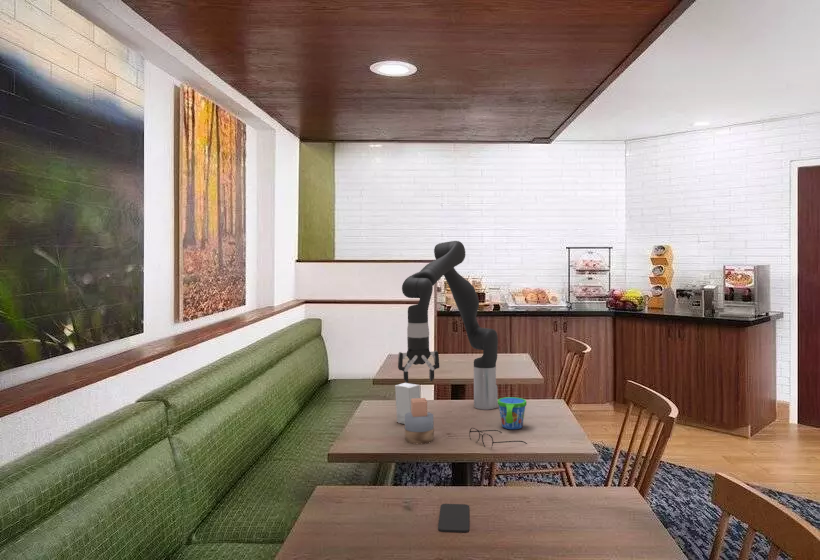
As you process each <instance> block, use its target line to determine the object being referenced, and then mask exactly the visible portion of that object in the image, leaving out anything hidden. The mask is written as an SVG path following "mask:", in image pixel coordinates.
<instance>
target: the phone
mask: <svg viewBox="0 0 820 560" xmlns="http://www.w3.org/2000/svg"><path fill="white" fill-rule="evenodd" d="M439 509H440V510H439V516H438V522H437V523H438V524H437V530H438V531H439V532H441V533H460V534H461V533H462V534H463V533H469V531H470V505H468V504H464V503H441V505H440V507H439Z"/></svg>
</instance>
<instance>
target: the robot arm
mask: <svg viewBox="0 0 820 560" xmlns="http://www.w3.org/2000/svg"><path fill="white" fill-rule="evenodd" d="M433 253H434V254H433V255H434V258H435V259H434V260H432V261H431V262H429V263H427V264H426V265H425V266H423V268H422V269H420V271H418V272H415V273H413V274H411V275H409V276H408V277H406V278H405V279H404V281H403V283H402V286H401V290H402V294H403V295H404V296H405V297H406V298H409V299H419V301H418V303H417V304H413V305H412V304H411V305H410V306H408V307H407V328H406V329H407V330H406V331H407V332H406V334H407V338H406V339H407V352H402V351H399V352H398V357H397V358H398V360H397V369H398V370H399V371H402V372H403V380H404V381H405V383H409V369H410V368H411V367H412V365H414V366H417V365H424V364H426V366H427V367H428V368H429V371H428V372H429V373H428V374H429V375H428V376H429V377H428V378H429V382H433V380H434V379H435V370H436V369H440V357H439V352H438V350H437V349H436V350H434V351H431V350H430V329H429V306H430V302H431V298H432V295H433V289H434V288H433V287H434V286H435V284H436V283H437V282H439V280H440V279H441V278H442V277H443V276H444V279H445V280H446V283H447V284H448V287H449V290H450V292H451V294H452V297H453V299H454V300H453V301H454V302H455V305H456V307H457V309H458V311H459V314H460V318H461V319H462V322H463V326H464V329H465V331H466V336H467V339H468V342H469V344H470V346H471V347H472V348H473V349H475V350H480V351H483V352H482V356H481V357H477V358H475V359H474V360H473V407H474V408H475V409H477V410H493V409H499V405H498V399H499V397H498V385H497V365H496V364H497V360H498V349H499V348H498V347H499V346H498V345H499V336H498V332H497V331H496V330H495V329H494V328H487V327H481V326H480V324H479V322H478V319H477V314H478V310H479V305H480V300H479V299H480V298H479V297H478V293H477V290H476V289H475V287H474V286H473V284H472V283H471V282H469V281H468V280H467V279H466V278H464V277H463V276H462V275H461V274H460V273H459V272H458V271H457V270H456V267H457V266H458V265H461V264H462V263H463V262H464V261H465V259H466V248H465V246H464V244H463V242H461V241H459V240H451V241H450V240H449V241H445V242H439V243H438V244H436V245H434V249H433ZM430 356H431V357H432V358H433V361H434V364H432V363H431V362H430V361H429V359H430ZM406 357H407V359H408V360H407V362H406V363H405V365H404V364H403V363H404V362H403V360H404V359H405V358H406ZM403 365H404V366H403Z"/></svg>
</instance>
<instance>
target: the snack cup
mask: <svg viewBox="0 0 820 560" xmlns="http://www.w3.org/2000/svg"><path fill="white" fill-rule="evenodd" d="M526 406H527V400H526V399H525V398H523V397H522V398H521V397H516V396H515V397H513V396H510V397H509V396H508V397H506V396H505V397H501V398H498V409H499V417H500V422H501V426H502V428H504V429H506V430H519V429H521V428H522V427H524V426H523V424H524V419H525V412H526V411H525V410H526Z"/></svg>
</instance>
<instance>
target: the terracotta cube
mask: <svg viewBox="0 0 820 560" xmlns="http://www.w3.org/2000/svg"><path fill="white" fill-rule="evenodd" d="M427 412H428V401H427V399H426V398H425V397H420V398H414V399H411V413H412V416H413V417H419V416H427Z"/></svg>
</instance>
